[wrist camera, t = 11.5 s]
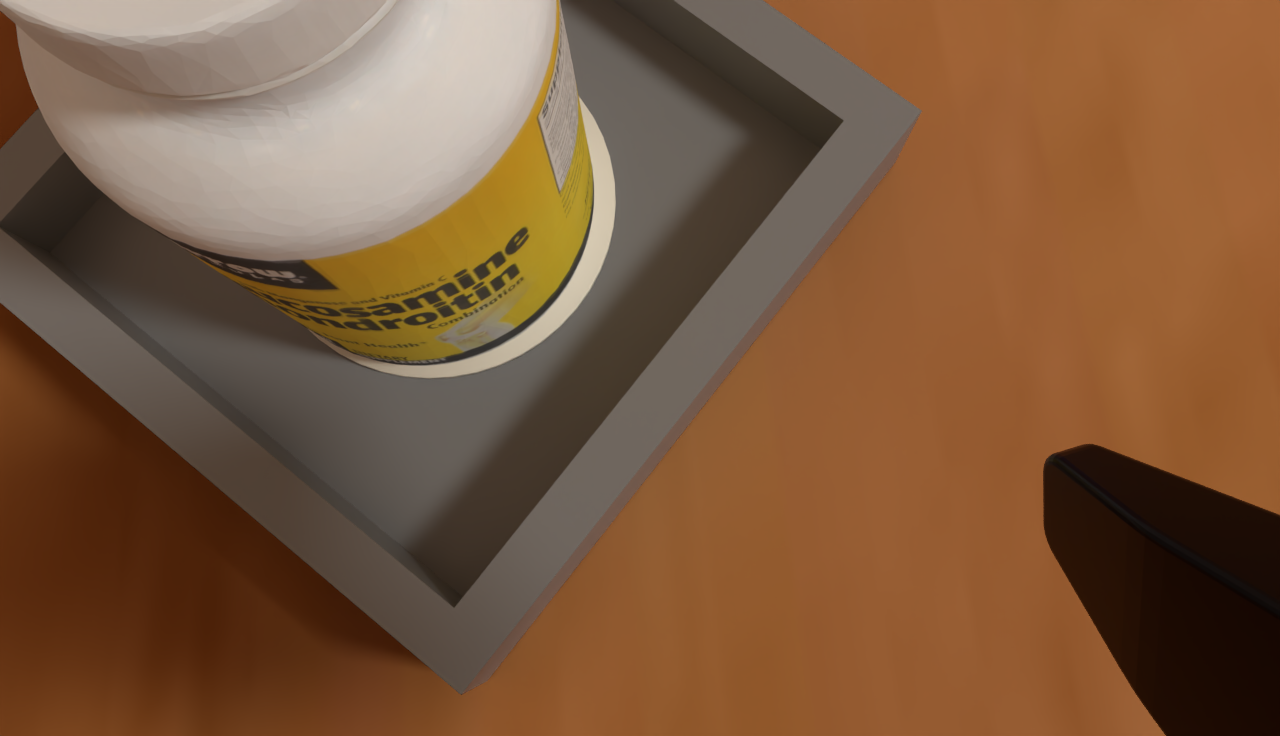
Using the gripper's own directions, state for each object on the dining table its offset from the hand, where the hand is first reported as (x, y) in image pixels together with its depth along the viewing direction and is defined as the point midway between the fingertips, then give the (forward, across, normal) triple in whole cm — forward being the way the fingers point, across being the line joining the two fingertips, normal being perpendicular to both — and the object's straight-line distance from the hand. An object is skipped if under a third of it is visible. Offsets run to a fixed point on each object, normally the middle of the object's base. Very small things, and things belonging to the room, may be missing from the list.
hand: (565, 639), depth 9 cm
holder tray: (+14, +1, +2) cm, 14 cm away
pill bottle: (+14, +1, +1) cm, 14 cm away
